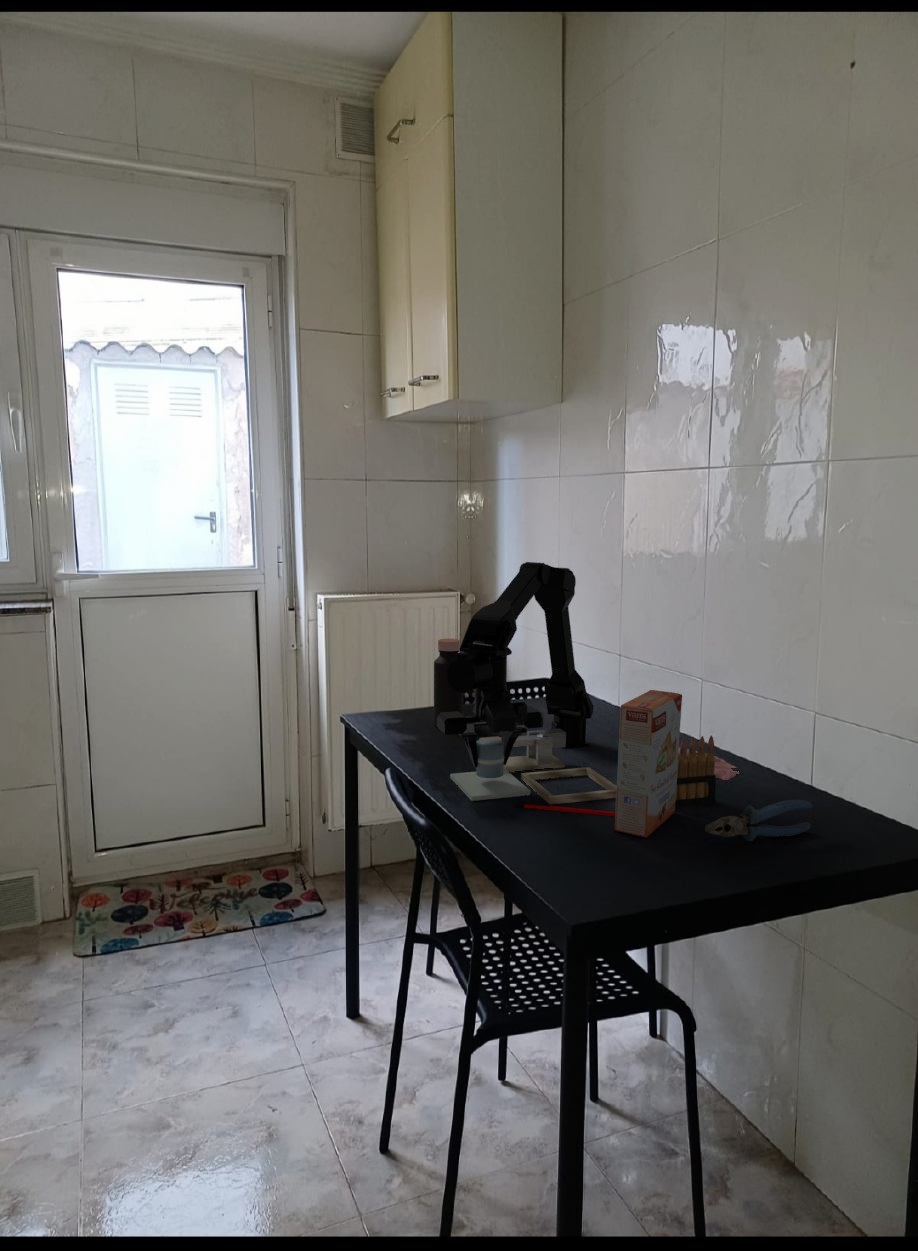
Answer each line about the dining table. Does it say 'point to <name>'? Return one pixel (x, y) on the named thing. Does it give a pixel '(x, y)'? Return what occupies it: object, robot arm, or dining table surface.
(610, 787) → the open square beige frame
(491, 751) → the grey round canister
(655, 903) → the dining table surface
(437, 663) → the bottle
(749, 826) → the pliers
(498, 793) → the pad
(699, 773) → the ammunition clip
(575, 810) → the pen
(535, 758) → the base
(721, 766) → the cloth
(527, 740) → the cutter handle
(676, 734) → the cracker box
